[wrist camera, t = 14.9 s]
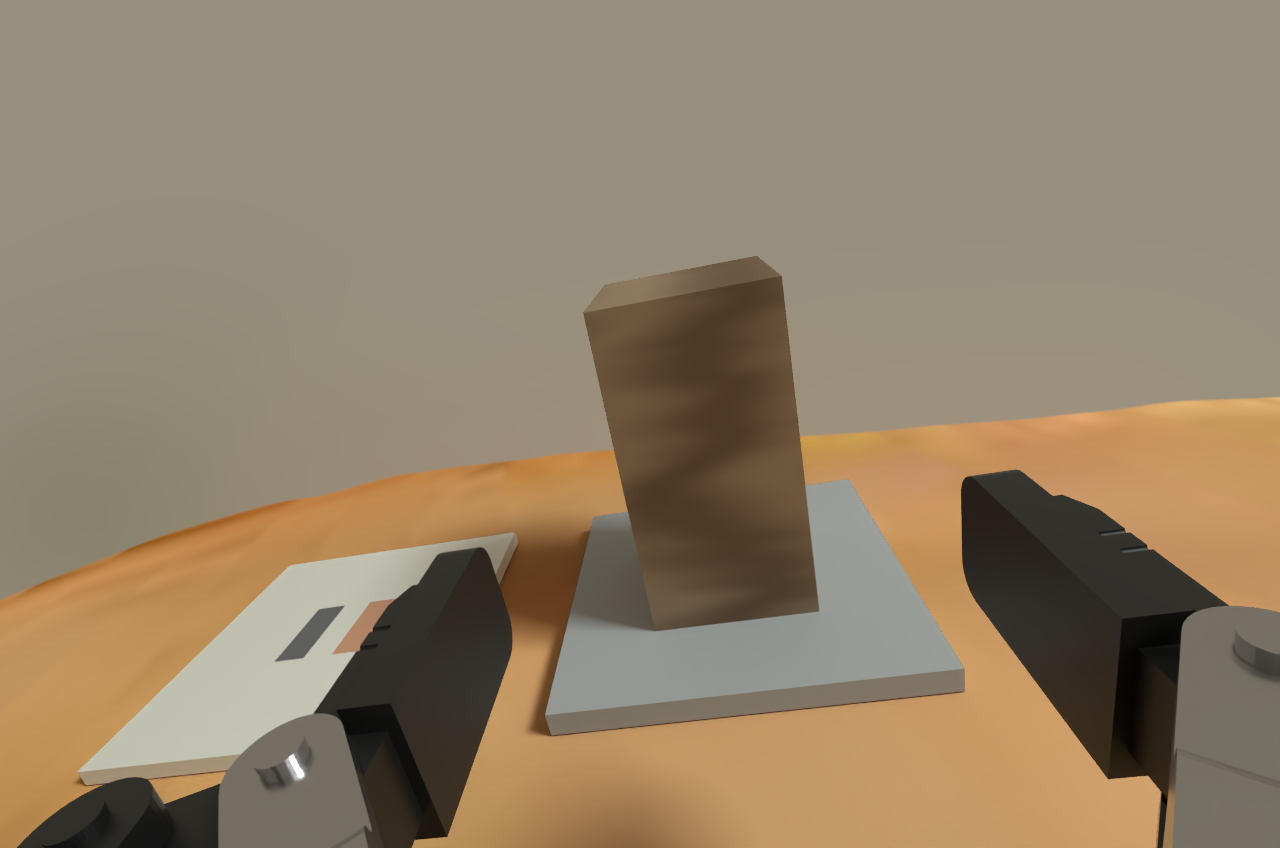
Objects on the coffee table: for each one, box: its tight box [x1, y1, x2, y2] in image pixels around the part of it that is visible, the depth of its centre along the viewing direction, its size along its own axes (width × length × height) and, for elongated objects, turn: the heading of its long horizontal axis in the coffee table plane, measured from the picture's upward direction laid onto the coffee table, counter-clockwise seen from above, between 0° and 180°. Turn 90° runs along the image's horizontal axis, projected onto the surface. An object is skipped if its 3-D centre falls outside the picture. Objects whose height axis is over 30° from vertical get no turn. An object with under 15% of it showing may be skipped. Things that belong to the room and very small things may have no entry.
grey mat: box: [545, 479, 965, 736], centre depth 23 cm, size 12×12×1 cm
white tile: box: [77, 532, 518, 785], centre depth 25 cm, size 12×12×1 cm
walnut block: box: [584, 256, 819, 631], centre depth 21 cm, size 6×6×11 cm
